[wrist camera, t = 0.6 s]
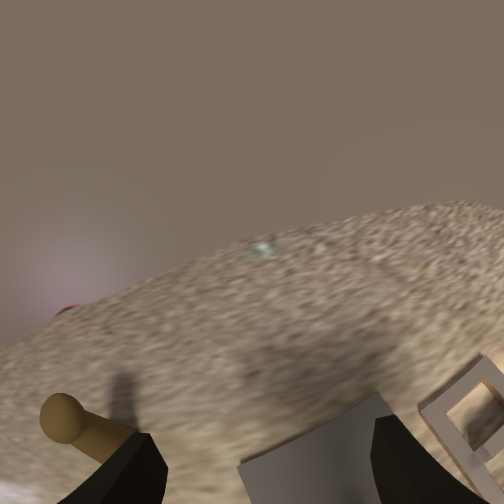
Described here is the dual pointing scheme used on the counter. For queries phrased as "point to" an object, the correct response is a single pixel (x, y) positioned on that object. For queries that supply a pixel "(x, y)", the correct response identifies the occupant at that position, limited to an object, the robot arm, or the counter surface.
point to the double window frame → (453, 440)
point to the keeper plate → (321, 463)
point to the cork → (81, 427)
